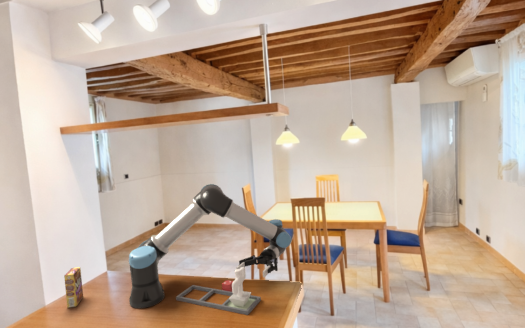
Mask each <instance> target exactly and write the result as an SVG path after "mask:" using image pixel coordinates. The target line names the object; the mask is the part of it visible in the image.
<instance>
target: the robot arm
mask: <svg viewBox="0 0 525 328" xmlns="http://www.w3.org/2000/svg"><path fill="white" fill-rule="evenodd" d="M211 213H213V214H215V215H217V216H219V217H221V218H223V219H224V218H228V219H229V220H232V221H233V222H235V223H237V224H239V225H240V226H243V227H245V228H247V229H249V230H250V231H252V232H254V233H256V234H258V235H259V236H261V237H264V238H266V239H267V240H269V241H268V242H269V245H268V246H267V247H266V248H265V249H264V250H262V251H261V252H260V254H259V255H258V256H256V255H255V254H252V255H251V256H249V257H246V258H242V259H240V260H238V262H239V263H238V266H236V267H235V268H236V269H240V268H241V267H244V268H245V269H246V267H249V266H253V265H255V266H258V265H266V267H265V268H264V270H262V277H263V278H266V276H268V275H269V274H271V272H274V271H275V272H278V271H279V270H278V263H279V262H278V258H279V257H280V256H281V255H283V254H284V252H285V251H286V249H287V248H288V247H289V246H291V243H292V237H291V235H290V234H289V232H287V231H286V230H285V228H284V227H283V226H284V225H283V221H282V220H281V219H276V218H275V219H270V220H269V221H268V220H266V219H264V218H262V217H260V216H259V215H257V214H255V213H253V212H252V211H249V210H248V209H246V208H244V207H242V206H240V205H239V204H237V203H235V202H234V200H233V199H232V198H230V197H229V196H227V195H226V194H225V193H224V192H223V190H222V188H221V187H220V186H219V185H216V184H214V183H210V184H206V185H204V186H203V187H202V188H201V190H200V191H199V192H198V193H197V194H196V195H195V196H194V197H193V198H192V203H190V205H188V206H187V207H185V209H184V210H183V211H182V212H181V213H179V215H177V216H176V217H175V218H174V219H173V220H172V221H171V222H170V223H169V224H168V225H166V226H165V227H164V228H163V229H162V230H160V232H159V233H157V234H156V235H155V234H153V235H151V236H150V237H149V238H147V239H146V240H145V241H142V242H141V243H140V244H139V246H138V247H136V248H135V249H132V250H131V252H130V253H129V254H128V264H129V270H130V279H131V290H130V296H129V299H128V300H129V306H130V307H131V308H134V309H145V308H150V307H152V306H155V305H157V304H159V303H160V302H162V301H163V300H164V299H165V297H166V296H165V290H164V288H163V286H162V284H161V282H160V279H159V277H160V276H159V267H158V266H159V265H158V264H159V262H160V260H161V259H163V258H164V257H165V256H166V255H167V254H168V253H169V248H170V247H171V246H173V244H174V243H175V242H176V241H177V240H178V239H180V238H181V237H182V236H183V235H184V234H185V233H186V232H187V231H189V230H190V229H191V228H192V227H193V226H194V225H195V224H196V223H197V222H198V221H199V220H200V219H201V218H202V217H203V216H209V215H210V214H211ZM236 269H235V270H236Z"/></svg>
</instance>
